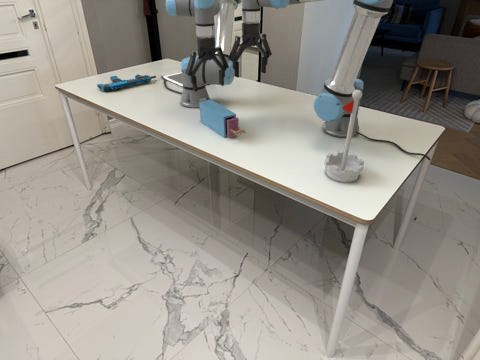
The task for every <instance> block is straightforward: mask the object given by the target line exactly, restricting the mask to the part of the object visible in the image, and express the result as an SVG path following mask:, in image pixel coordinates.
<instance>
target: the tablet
mask: <svg viewBox="0 0 480 360" xmlns="http://www.w3.org/2000/svg"><path fill="white" fill-rule="evenodd" d="M162 76H163V77H164V78H165V81H167V82H170V83H173V84H175V85H177V86H179V87H181V88H183V81H182V71H181V72H177V73H172V74H167V75H162ZM160 78H161V79H163V78H162V77H161V76H160ZM207 85H209V84H206V86H207Z"/></svg>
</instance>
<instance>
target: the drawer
mask: <svg viewBox="0 0 480 360" xmlns="http://www.w3.org/2000/svg"><path fill="white" fill-rule="evenodd" d="M225 119H226V134H227V136H228V137H227V138H232V137H235V136H239V135H242V134H245V133H246V129H244V128H243V129H242V128H241V127H239V117H236V118H234V117H229V118H225Z"/></svg>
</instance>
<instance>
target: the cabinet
mask: <svg viewBox="0 0 480 360" xmlns="http://www.w3.org/2000/svg"><path fill="white" fill-rule="evenodd" d="M199 106H200V107H199V117H200V118H199V121H200V122H201V123H202V124H204V125H205V126H207V127H208V128H210V129H211V130H212V131H214V132H216V133H217V134H219V135H220V136H221V137H223V138H229V137H228V136H227V134H226V119H225V118H229V117H234V118H237V113H235V112H234V111H232V110H230V109H229V108H227V107H225V106H223V105H221V104H220V103H218V102H216V101H214V100H213V99H210V100H206V101H202V102H199Z"/></svg>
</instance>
